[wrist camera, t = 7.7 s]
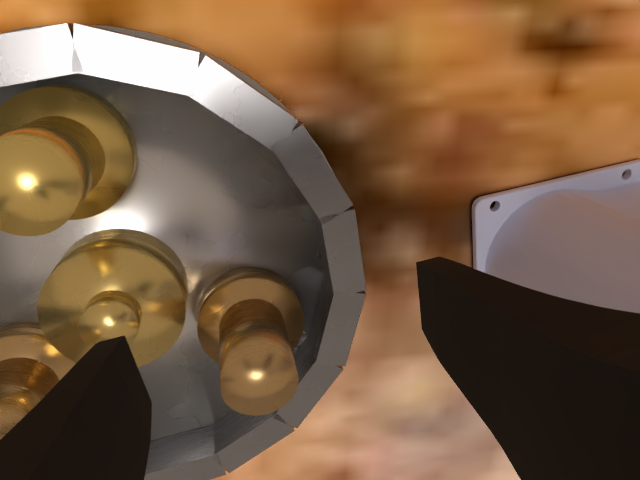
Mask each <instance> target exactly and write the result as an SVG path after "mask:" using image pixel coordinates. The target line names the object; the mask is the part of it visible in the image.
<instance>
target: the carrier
mask: <svg viewBox="0 0 640 480" xmlns="http://www.w3.org/2000/svg"><path fill="white" fill-rule="evenodd" d="M54 84H63V85H72V86H77V87H80V88H84V89H86V90H89V91H92V92H94V93H95V94H97V95H99V96H101V97H103V98H104V99H105V100H107V101H108V102H110V103H111V104H112V105H113V106H114V107H115V108H116V109H117V110H118V111H119V112H120V113H121V114H122V115H123V117H124V118H125V120H126V121H127V123H128V124H129V126H130V128H131V130H132V132H133V135H134V137H135V141H136V145H137V165H136V170H135V173H134V176H133V178H132V180H131V182H130V184H129V186H128V187H127V189H126V191H125V192H124V194H123V195H122V197H121V198H120V199H119V200H118V201H117V202H116V203H115V204H114V205H113V206H112V207H110V208H109V209H107V210H106V211H104V212H102V213H100V214H98V215H95V216H93V217H89V218H85V219H79V220H68V221H67V222H66V223H65V224H64V225H62V226H61V227H60V228H58V229H56V230H55V231H52V232H50V233H47V234H44V235H39V236H19V235H13V234H10V233H6V232H4V231H1V230H0V439H2V438H3V437H4V436H5V435H6V434H7V433H8V432H9V431H10V430H11V429H12V428H13V427H14V426H15V425H16V424H17V423H18V422H19V421H20V420H21V419H22V418H23V417H24V416H25V415H26V414H27V413H28V412H30V411H31V410H32V409H33V408H34V407H35V406H36V405H37V404H38V403H39V402H40V401H41V400H42V399H43V398H44V397H45V396H46V395H47V393H48V392H49V391H50V390H51V389H52V388H53V387H54V386H55V385H56V384H57V383H58V382H59V381H60V380H61V379H62V378H63V377H64V376H65V375H66V374H67V373H68V372H69V370H70V369H71V368H72V367H73V366H74V365H75V364H76V363H77V362H78V361H79V360H80V359H81V358H82V357H83V356H84V355H85V354H86V353H87V352H88V351H89V350H90V349H91V348H92V347H93V346H94V345H95V344H96V343H97V342H100V341H104V340H108V339H112V338H116V337H120V336H124V335H125V337H126V340H127V342H128V345H129V347H130V350H131V352H132V355H133V357H134V359H135V362H136V364H137V367H138V369H139V372H140V374H141V377H142V379H143V382H144V384H145V386H146V389H147V391H148V394H149V396H150V399H151V401H152V420H151V442H150V448H149V454H148V460H147V466H146V472H145V477H144V480H209V479H213V478H216V477H219V476H223V475H225V470H226V471H228V472H229V473H230V472H232V471H233V470H235V469H236V468H238V467H239V466H241V465H242V464H244V463H246V462H247V461H249V460H250V459H252V458H253V457H255V456H256V455H258V454H259V453H261V452H263V451H264V450H266V449H267V448H269V447H270V446H272V445H273V444H275V443H276V442H278V441H279V440H281V439H283V438H284V437H286V436H287V435H289V434H290V433H292V432H293V431H294V427H296V428H298V426H299V425H300V424H301V423H302V421H303V420H304V419H305V418H306V416H307V415H308V414H309V412H310V411H311V410H312V409H313V407H314V406H315V405H316V404H317V402H318V401H319V400H320V398H321V397H322V396H323V395H324V393H325V392H326V391H327V390H328V388H329V387H330V386H331V384H332V383H333V382H334V381H335V379H336V378H337V377H338V375H339V374H340V373H341V372H342V370H343V368H342V366H345V365H346V361H347V358H348V354H349V351H350V348H351V344H352V341H353V337H354V334H355V330H356V327H357V323H358V320H359V317H360V313H361V310H362V306H363V303H364V299H365V296H366V293H365V291H364V290H366V284H365V277H364V270H363V263H362V256H361V249H360V241H359V234H358V227H357V220H356V213H355V209H354V207H353V206H352V205H353V203H352V202H351V200H350V199H349V197H348V195H347V194H346V192H345V191H344V189H343V187H342V186H341V184H340V183H339V181H338V180H337V178H336V176H335V174H334V173H333V171H332V169H331V167H330V165H329V163H328V161H327V160H326V158H325V156H324V154H323V152H322V151H321V149H320V148H319V147H318V145H317V144H316V142H315V141H314V140H313V138H312V137H311V136H310V134H309V133H308V131H307V130H306V129H305V127H304V126H303V124H302V123H301V122H300V121H299V120H298V119H297V118H296V117H294V115H293V114H292V113H291V112H290V111H289V110H288V109H287V108H286V107H285V106H284V105H283V104H282V103H281V102H280V101H279V100H278V99H277V98H275V97H274V96H273V95H272V94H271V93H269V92H268V91H267V90H266V89H264V88H263V87H262V86H261V85H259V84H258V83H257V82H256V81H254V80H253V79H252V78H250V77H249V76H247V75H246V74H244V73H242V72H241V71H239V70H237V69H236V68H234V67H233V66H231V65H229V64H228V63H226V62H224V61H223V60H221V59H219V58H217V57H215V56H212V55H210V54H208V53H206V52H204V51H201V50H199V49H197V48H195V47H192V46H190V45H188V44H185V43H182V42H179V41H175V40H172V39H169V38H166V37H162V36H159V35H156V34H153V33H149V32H143V31H137V30H131V29H125V28H119V27H113V26H104V25H84V24H76V23H74V24H70V23H65V24H59V25H50V26H40V27H29V28H22V29H18V30H13V31H9V32H5V33H1V34H0V106H1V105H2V104H3V103H5V102H6V101H7V100H8V99H10V98H11V97H13V96H15V95H17V94H19V93H21V92H24V91H27V90H31V89H34V88H38V87H42V86H46V85H54Z"/></svg>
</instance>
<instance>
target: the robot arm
mask: <svg viewBox="0 0 640 480" xmlns="http://www.w3.org/2000/svg"><path fill="white" fill-rule="evenodd" d="M624 171H625V174H624V175H623V176H622V174H623V172H624ZM494 201H496V203H495V206H494V207H493V208H491V209H490V205H491V203H492V202H494ZM472 235H473V268H471V267H468V266H466V265H463V264H460V263H457V262H455V261H452V260H449V259H446V258H442V257H436V258H432V259H428V260H424V261H420V262H416V264H417V276H418V288H419V299H420V311H421V322H422V330H423V332H424V334H425V336H426V338H427V340H428V342H429V344H430V345H431V347H432V349H433V351H434V353H435V354H436V356H437V358H438V360H439V361H440V363H441V364H442V366H443V367H444V368H445V370H446V371H447V373H448V374H449V375H450V377H451V378H452V379H453V381H454V382H455V383H456V385H457V386H458V388H459V389H460V390H461V392H462V393H463V394H464V396H465V397H466V398H467V400H468V401H469V402H470V404H471V405H472V406H473V408H474V409H475V410H476V412H477V413H478V414H479V416H480V417H481V418H482V420H483V421H484V422H485V424H486V425H487V426H488V428H489V429H490V431H491V432H492V434H493V435H494V436H495V438H496V439H497V441H498V442H499V444H500V445H501V447H502V448H503V450H504V452H505V454H506V455H507V457H508V459H509V460H510V462H511V464H512V465H513V467H514V469H515V470H516V472H517V474H518V475H519V477H520V479H521V480H640V159H637V160H633V161H629V162H625V163H621V164H616V165H612V166H608V167H604V168H599V169H595V170H591V171H587V172H582V173H578V174H574V175H570V176H565V177H561V178H557V179H553V180H549V181H544V182H540V183H536V184H532V185H527V186H523V187H519V188H515V189H510V190H506V191H502V192H498V193H493V194H489V195H485V196H481V197H479V198H477V199H476V200H475V201H474V202H473V204H472ZM151 420H152V401H151V399H150V396H149V394H148V391H147V389H146V386H145V384H144V382H143V379H142V377H141V374H140V372H139V369H138V367H137V364H136V362H135V359H134V357H133V355H132V352H131V350H130V347H129V345H128V342H127V340H126V337H125V335H124V336H120V337H116V338H112V339H108V340H104V341H100V342H97V343H96V344H95V345H94V346H93V347H92V348H91V349H90V350H89V351H88V352H87V353H86V354H85V355H84V356H83V357H82V358H81V359H80V360H79V361H78V362H77V363H76V364H75V365H74V366H73V367H72V368H71V369H70V370H69V372H68V373H67V374H66V375H65V376H64V377H63V378H62V379H61V380H60V381H59V382H58V383H57V384H56V385H55V386H54V387H53V388H52V389H51V390H50V391H49V392H48V393H47V395H46V396H45V397H44V398H43V399H42V400H41V401H40V402H39V403H38V404H37V405H36V406H35V407H34V408H33V409H32V410H31V411H30V412H28V413H27V414H26V415H25V416H24V417H23V418H22V419H21V420H20V421H19V422H18V423H17V424H16V425H15V426H14V427H13V428H12V429H11V430H10V431H9V432H8V433H7V434H6V435H5V436H4V437H3V438H2V439H0V480H144V477H145V472H146V466H147V460H148V454H149V448H150V442H151Z"/></svg>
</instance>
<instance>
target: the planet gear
mask: <svg viewBox="0 0 640 480" xmlns="http://www.w3.org/2000/svg"><path fill="white" fill-rule="evenodd" d="M136 165H137V145H136V141H135V137H134V135H133V132H132V130H131V128H130V126H129V124H128V123H127V121H126V120H125V118H124V117H123V115H122V114H121V113H120V112H119V111H118V110H117V109H116V108H115V107H114V106H113V105H112V104H111V103H110V102H108V101H107V100H105V99H104V98H103V97H101V96H99V95H97V94H95V93H94V92H92V91H89V90H86V89H84V88H80V87H77V86H72V85H63V84H54V85H46V86H42V87H38V88H34V89H31V90H27V91H24V92H21V93H19V94H17V95H15V96H13V97H11V98H10V99H8V100H7V101H6V102H5V103H3V104H2V105H1V106H0V230H1V231H4V232H6V233H10V234H13V235H19V236H39V235H44V234H47V233H50V232H52V231H55V230H56V229H58V228H60V227H61V226H62V225H64V224H65V223H66V222H67V221H68V220H79V219H85V218H89V217H93V216H95V215H98V214H100V213H102V212H104V211H106V210H107V209H109V208H110V207H112V206H113V205H114V204H115V203H116V202H117V201H118V200H119V199H120V198H121V197H122V195H123V194H124V192H125V191H126V189H127V187H128V186H129V184H130V182H131V180H132V178H133V176H134V173H135V170H136Z"/></svg>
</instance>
